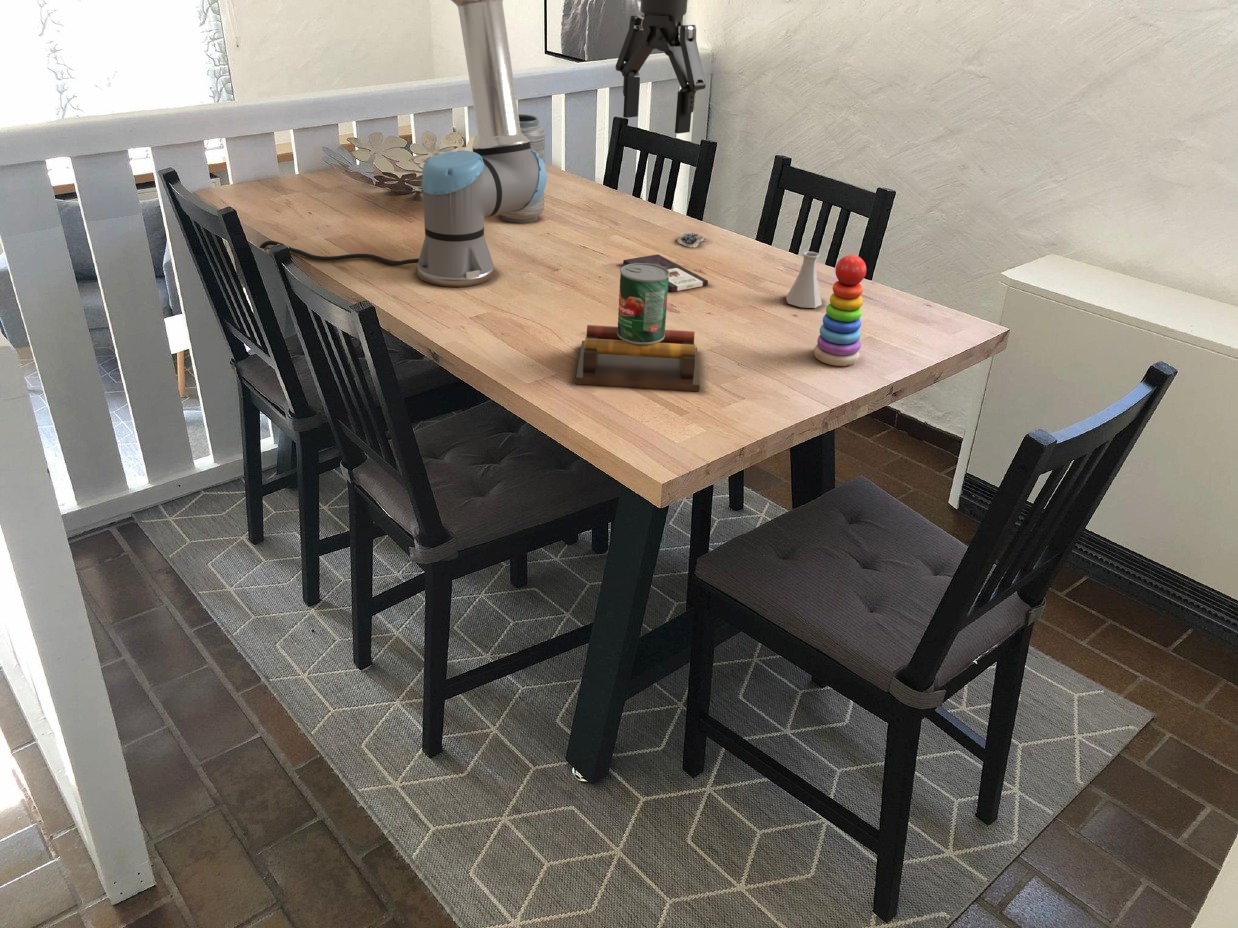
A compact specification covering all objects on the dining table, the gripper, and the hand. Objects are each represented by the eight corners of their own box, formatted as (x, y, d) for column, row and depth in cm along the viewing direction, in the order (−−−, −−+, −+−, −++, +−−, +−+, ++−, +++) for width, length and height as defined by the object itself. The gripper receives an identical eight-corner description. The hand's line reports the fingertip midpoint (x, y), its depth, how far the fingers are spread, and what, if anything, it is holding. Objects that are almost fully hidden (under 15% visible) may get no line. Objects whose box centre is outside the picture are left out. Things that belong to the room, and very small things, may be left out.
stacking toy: (808, 348, 176) (824, 247, 167) (851, 349, 177) (870, 248, 167) (819, 367, 169) (837, 262, 160) (864, 368, 170) (884, 263, 161)
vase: (524, 228, 228) (524, 125, 217) (485, 218, 234) (483, 117, 222) (553, 217, 237) (555, 118, 225) (514, 207, 242) (514, 110, 231)
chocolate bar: (658, 254, 214) (708, 280, 201) (657, 258, 214) (707, 285, 201) (623, 260, 209) (672, 287, 197) (623, 264, 210) (671, 291, 197)
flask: (824, 299, 198) (832, 251, 193) (818, 311, 192) (827, 262, 187) (789, 293, 200) (796, 245, 195) (782, 305, 194) (789, 256, 189)
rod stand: (575, 384, 159) (576, 349, 156) (582, 346, 172) (583, 314, 169) (699, 391, 159) (702, 357, 156) (696, 353, 172) (699, 321, 169)
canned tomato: (673, 333, 164) (678, 270, 158) (649, 349, 158) (653, 283, 152) (632, 322, 167) (636, 259, 161) (607, 336, 161) (610, 272, 156)
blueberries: (706, 238, 229) (707, 230, 228) (705, 249, 222) (706, 240, 221) (677, 236, 229) (678, 228, 228) (676, 246, 223) (676, 238, 222)
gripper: (736, -5, 152) (722, 137, 163) (633, -21, 168) (626, 109, 179) (700, -4, 148) (688, 142, 158) (598, -20, 164) (593, 112, 175)
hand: (655, 124), depth 169 cm, fingers open, 13 cm apart
